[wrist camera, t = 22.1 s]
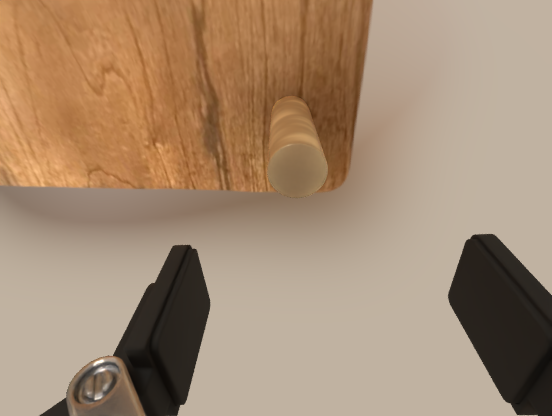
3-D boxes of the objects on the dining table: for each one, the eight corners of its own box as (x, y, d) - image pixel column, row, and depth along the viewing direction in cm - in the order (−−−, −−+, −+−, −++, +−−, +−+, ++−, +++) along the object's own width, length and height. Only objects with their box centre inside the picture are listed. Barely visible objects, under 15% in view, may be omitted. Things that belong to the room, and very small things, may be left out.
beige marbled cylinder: (309, 94, 27) (328, 141, 17) (310, 133, 29) (327, 196, 19) (269, 96, 28) (264, 145, 17) (272, 135, 30) (269, 200, 19)
